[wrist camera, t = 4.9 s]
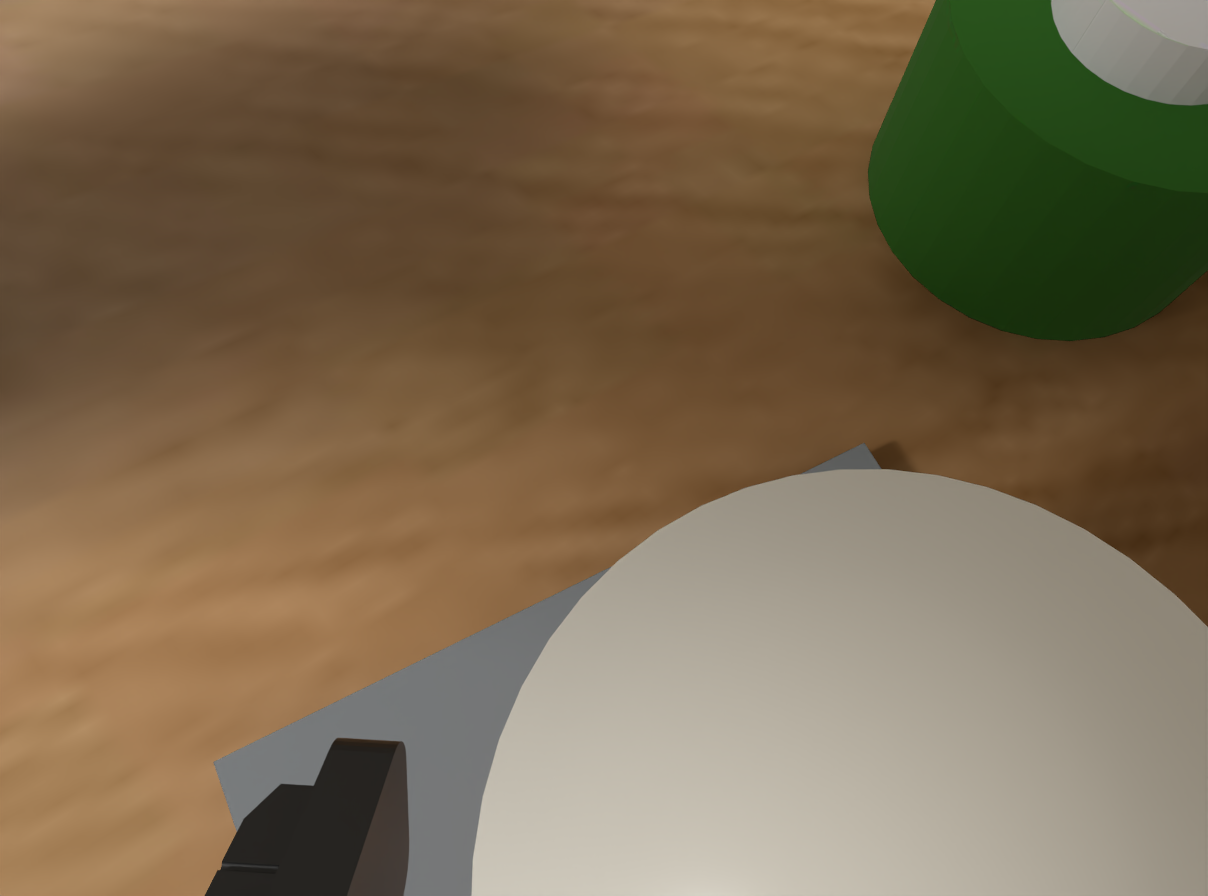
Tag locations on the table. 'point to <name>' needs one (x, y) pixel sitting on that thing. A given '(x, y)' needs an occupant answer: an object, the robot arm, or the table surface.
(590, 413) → the table surface
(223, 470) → the table surface
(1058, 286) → the candle
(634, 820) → the white capsule lamp
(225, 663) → the table surface
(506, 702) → the board
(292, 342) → the table surface
